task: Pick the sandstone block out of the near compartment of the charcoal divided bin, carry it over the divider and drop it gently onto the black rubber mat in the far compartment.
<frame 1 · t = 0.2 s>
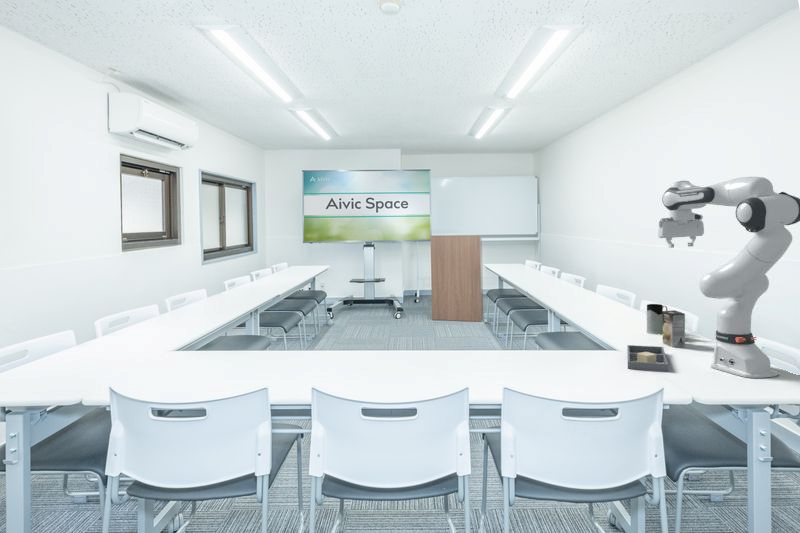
hand: (681, 247, 216), 48 cm above the table, tool pointing down, fingers open, 8 cm apart
divided bin: (646, 360, 203), on the table
sandstone block: (646, 365, 197), resting in divided bin
grey mug: (658, 332, 253), on the table
coffee box: (673, 345, 226), on the table
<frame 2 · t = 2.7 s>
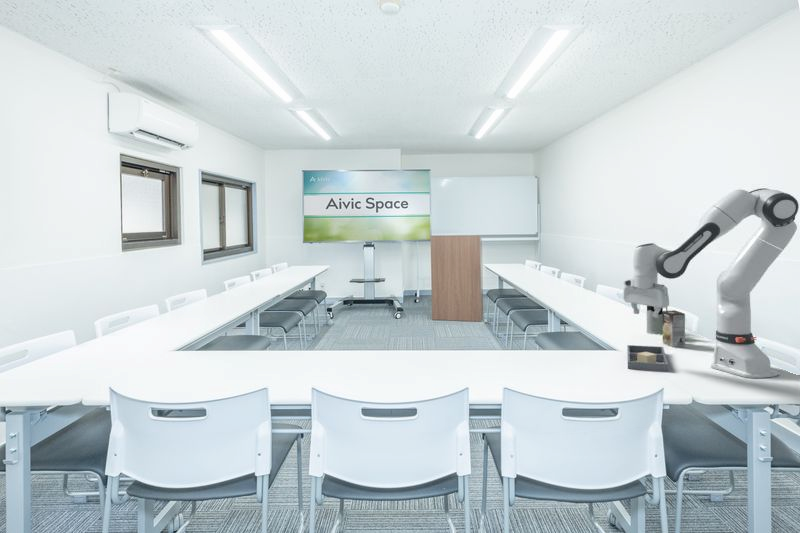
hand: (645, 315, 195), 21 cm above the table, tool pointing down, fingers open, 8 cm apart
nothing on the table moved.
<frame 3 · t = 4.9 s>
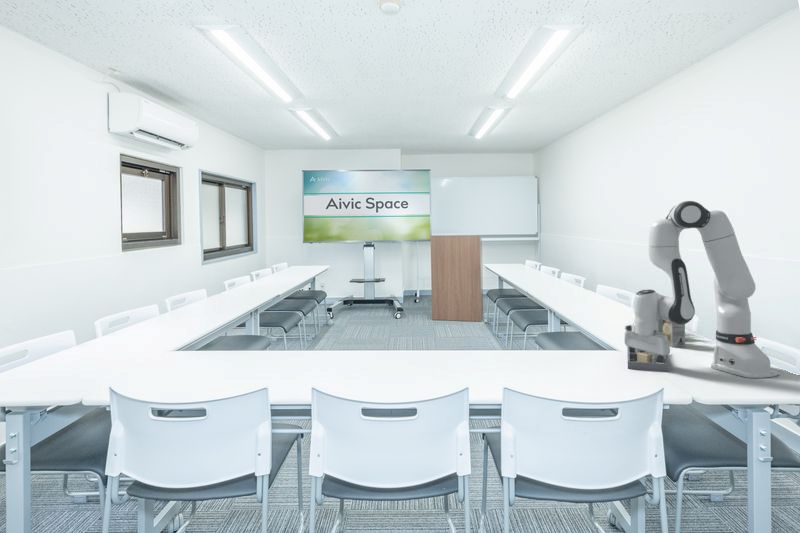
hand: (646, 361, 197), 2 cm above the table, tool pointing down, fingers closed on sandstone block, 5 cm apart
sandstone block: (646, 365, 197), resting in divided bin, touching gripper
everything else where it was.
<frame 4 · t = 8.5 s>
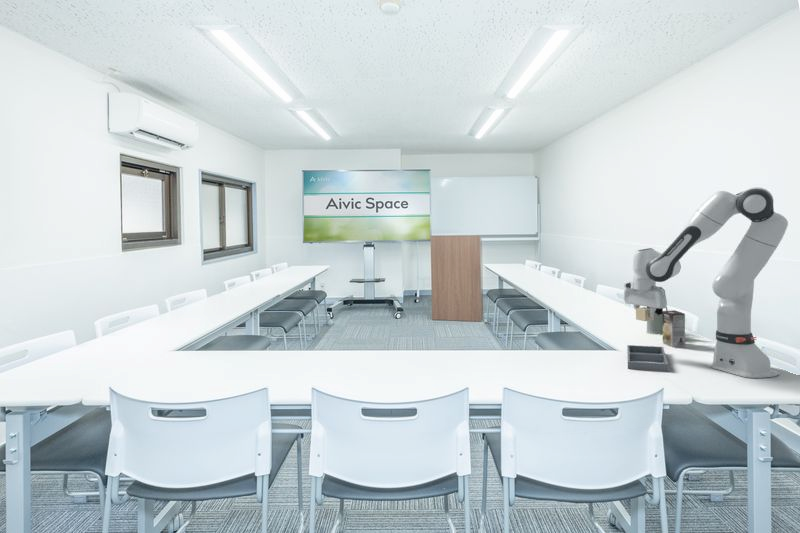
hand: (644, 315, 208), 18 cm above the table, tool pointing down, fingers closed on sandstone block, 5 cm apart
sandstone block: (644, 319, 208), point 17 cm above the table, touching gripper
everything else where it was.
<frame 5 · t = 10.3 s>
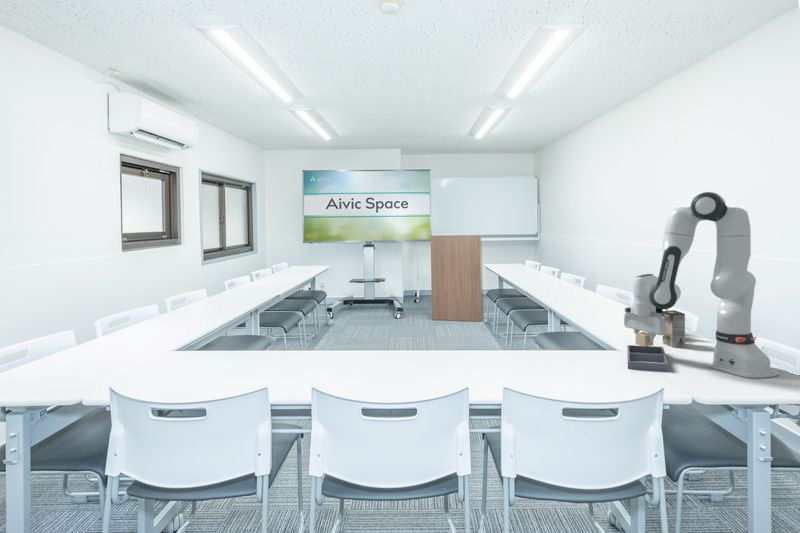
hand: (644, 340, 209), 7 cm above the table, tool pointing down, fingers closed on sandstone block, 5 cm apart
sandstone block: (644, 344, 209), point 5 cm above the table, touching gripper
everything else where it was.
when the fingers open (4 cm above the table, at t = 11.9 s): sandstone block drops 2 cm, resting on divided bin.
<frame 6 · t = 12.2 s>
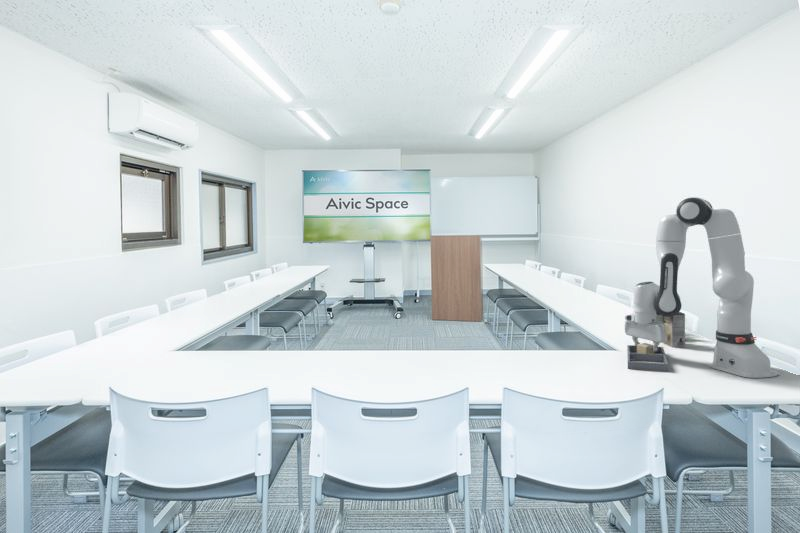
hand: (645, 348, 209), 4 cm above the table, tool pointing down, fingers open, 8 cm apart
sandstone block: (645, 355, 209), resting on divided bin
everything else where it was.
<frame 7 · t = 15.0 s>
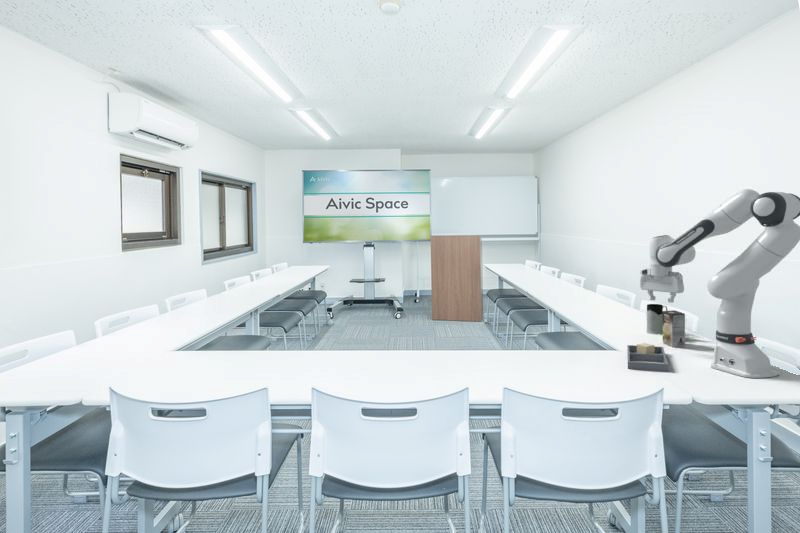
hand: (661, 301, 213), 24 cm above the table, tool pointing down, fingers open, 8 cm apart
nothing on the table moved.
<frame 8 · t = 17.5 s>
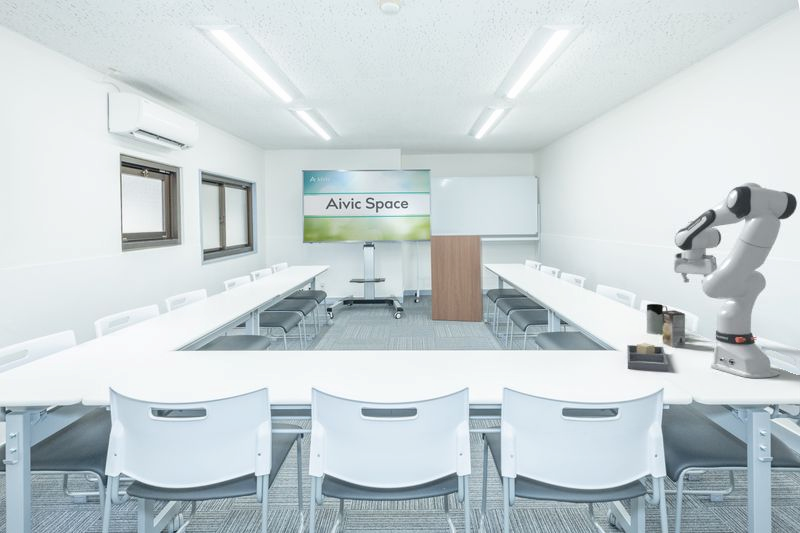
hand: (695, 283, 225), 29 cm above the table, tool pointing down, fingers open, 8 cm apart
nothing on the table moved.
at the end: sandstone block inside the target area (0.0 cm from its centre), resting on divided bin; sandstone block tilted 0°; the gripper is holding nothing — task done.
